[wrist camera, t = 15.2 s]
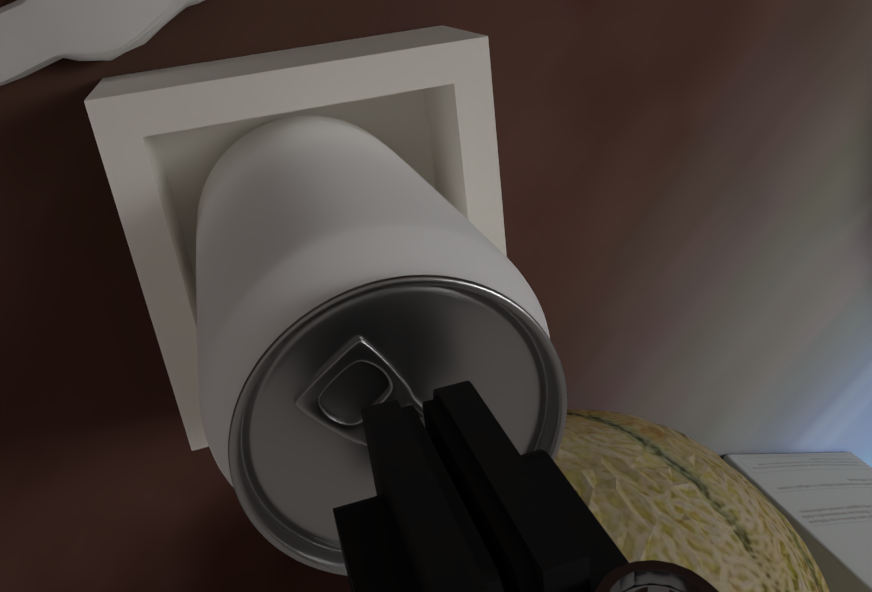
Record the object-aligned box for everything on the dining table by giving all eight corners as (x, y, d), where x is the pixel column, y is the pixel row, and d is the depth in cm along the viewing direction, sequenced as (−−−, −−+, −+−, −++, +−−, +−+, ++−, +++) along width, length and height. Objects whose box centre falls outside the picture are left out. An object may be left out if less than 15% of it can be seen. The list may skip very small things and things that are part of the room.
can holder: (442, 25, 23) (487, 36, 19) (473, 314, 27) (515, 367, 23) (102, 78, 21) (83, 101, 17) (192, 381, 25) (191, 450, 21)
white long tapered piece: (258, -137, 20) (261, -143, 18) (304, -35, 21) (311, -32, 20) (-278, 111, 19) (-325, 128, 18) (-198, 201, 21) (-235, 225, 19)
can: (310, 357, 25) (399, 652, 14) (146, 227, 22) (101, 476, 11) (454, 216, 24) (658, 409, 14) (307, 62, 21) (420, 156, 11)
